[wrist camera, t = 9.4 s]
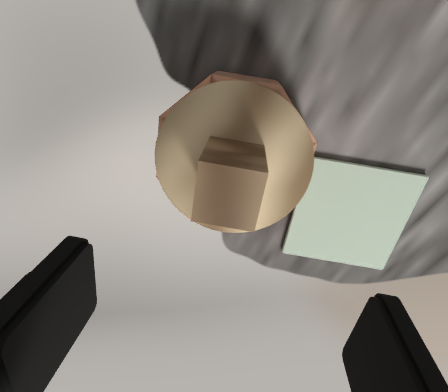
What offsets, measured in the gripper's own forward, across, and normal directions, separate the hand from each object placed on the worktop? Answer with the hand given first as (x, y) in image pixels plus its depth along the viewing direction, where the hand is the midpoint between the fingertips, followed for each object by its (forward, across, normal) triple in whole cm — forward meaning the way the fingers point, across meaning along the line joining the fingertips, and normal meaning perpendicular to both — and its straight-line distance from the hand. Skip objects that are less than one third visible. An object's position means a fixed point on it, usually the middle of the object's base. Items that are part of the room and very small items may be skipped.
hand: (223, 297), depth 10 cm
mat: (+20, -12, +6) cm, 24 cm away
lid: (+14, +1, +1) cm, 15 cm away
